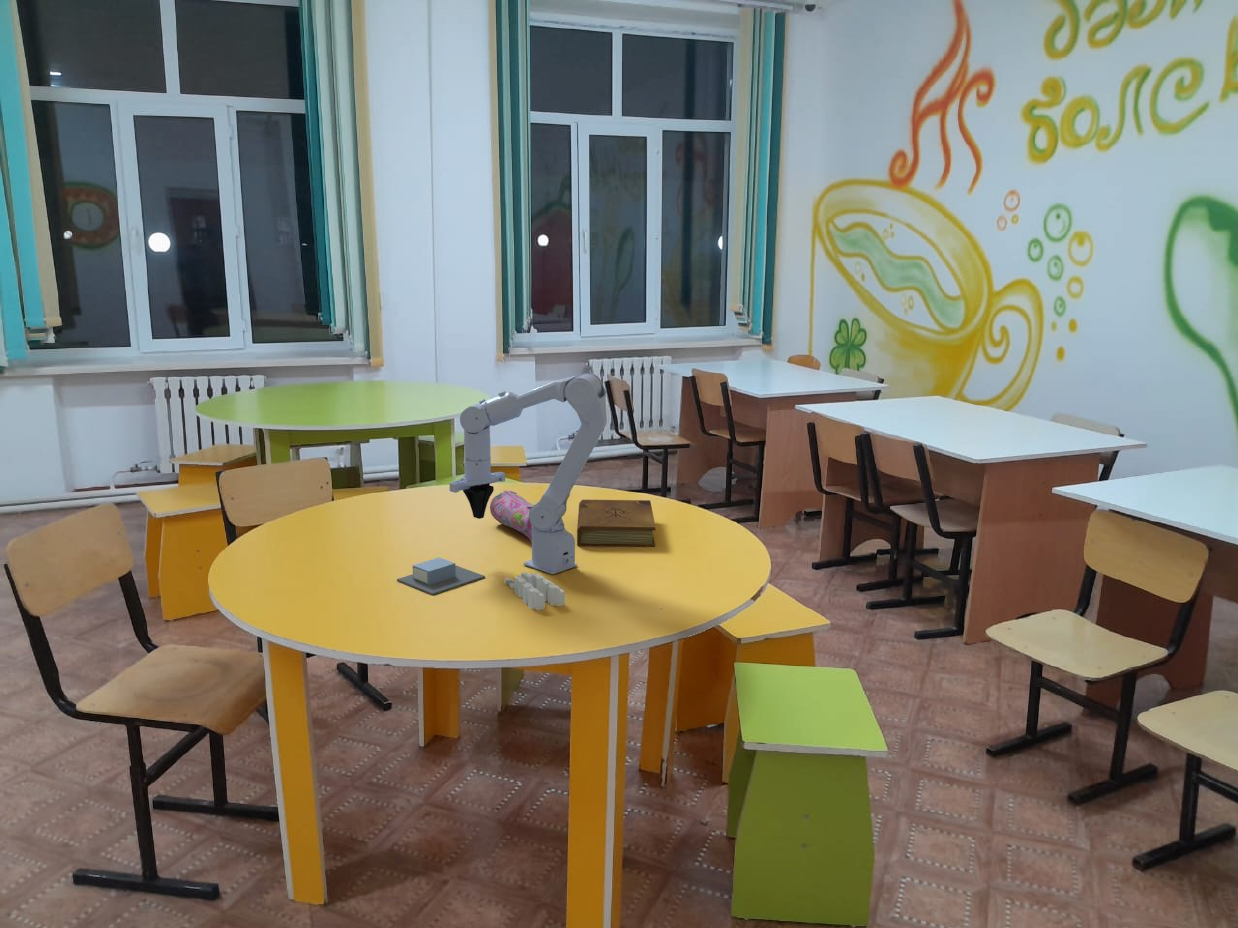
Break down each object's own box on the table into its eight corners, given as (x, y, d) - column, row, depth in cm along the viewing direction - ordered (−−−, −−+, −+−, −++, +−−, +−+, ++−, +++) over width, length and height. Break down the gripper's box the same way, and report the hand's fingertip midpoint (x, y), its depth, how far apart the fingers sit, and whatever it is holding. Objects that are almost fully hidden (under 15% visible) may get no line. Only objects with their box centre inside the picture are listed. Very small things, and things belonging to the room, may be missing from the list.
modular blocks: (564, 606, 180) (565, 587, 179) (533, 612, 176) (533, 593, 175) (523, 575, 196) (523, 558, 195) (494, 580, 193) (494, 563, 192)
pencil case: (561, 541, 219) (561, 505, 217) (527, 547, 214) (527, 511, 212) (520, 519, 237) (520, 486, 235) (488, 524, 232) (487, 490, 230)
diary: (579, 520, 238) (579, 499, 237) (649, 521, 238) (650, 500, 237) (577, 548, 216) (577, 525, 214) (654, 549, 216) (655, 526, 215)
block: (455, 563, 192) (428, 571, 187) (455, 576, 193) (428, 585, 187) (439, 557, 196) (411, 565, 190) (439, 570, 196) (412, 578, 191)
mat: (485, 577, 194) (485, 575, 193) (432, 595, 183) (432, 593, 183) (449, 564, 201) (449, 562, 201) (396, 580, 191) (396, 578, 191)
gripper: (490, 450, 208) (491, 507, 211) (439, 460, 197) (441, 520, 200) (511, 455, 203) (511, 513, 206) (460, 466, 192) (462, 527, 195)
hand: (478, 517), depth 203 cm, fingers closed
